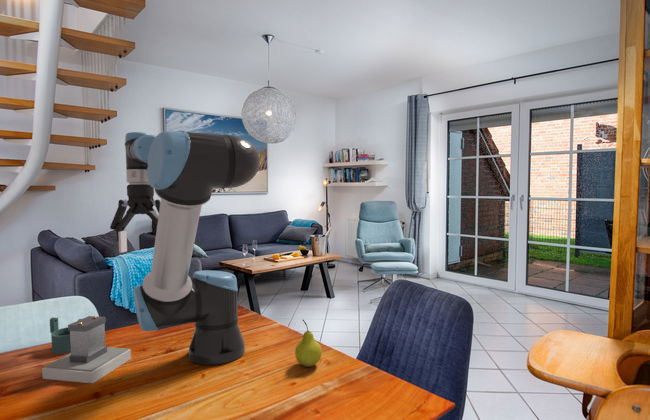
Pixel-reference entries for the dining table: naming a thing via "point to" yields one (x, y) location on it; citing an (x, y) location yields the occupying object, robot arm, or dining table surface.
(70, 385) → the dining table surface
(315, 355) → the fruit
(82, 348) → the housing
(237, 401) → the dining table surface
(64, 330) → the bracket
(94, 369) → the stand
